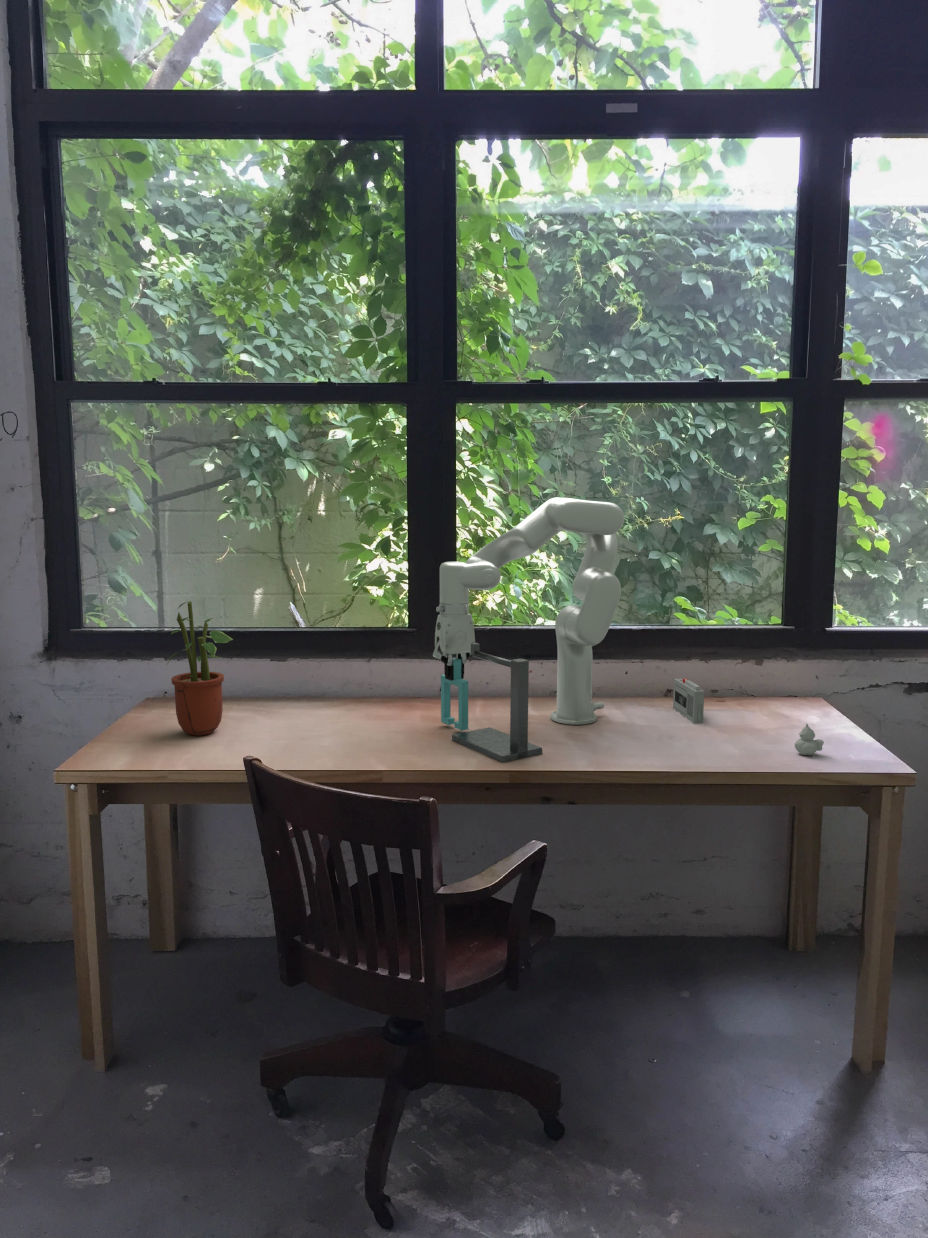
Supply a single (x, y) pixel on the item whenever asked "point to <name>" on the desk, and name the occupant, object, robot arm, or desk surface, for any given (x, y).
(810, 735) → the rubber duck
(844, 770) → the desk surface
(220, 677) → the potted plant
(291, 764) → the desk surface
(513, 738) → the hook stand
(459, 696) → the teal link
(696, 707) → the cassette player
